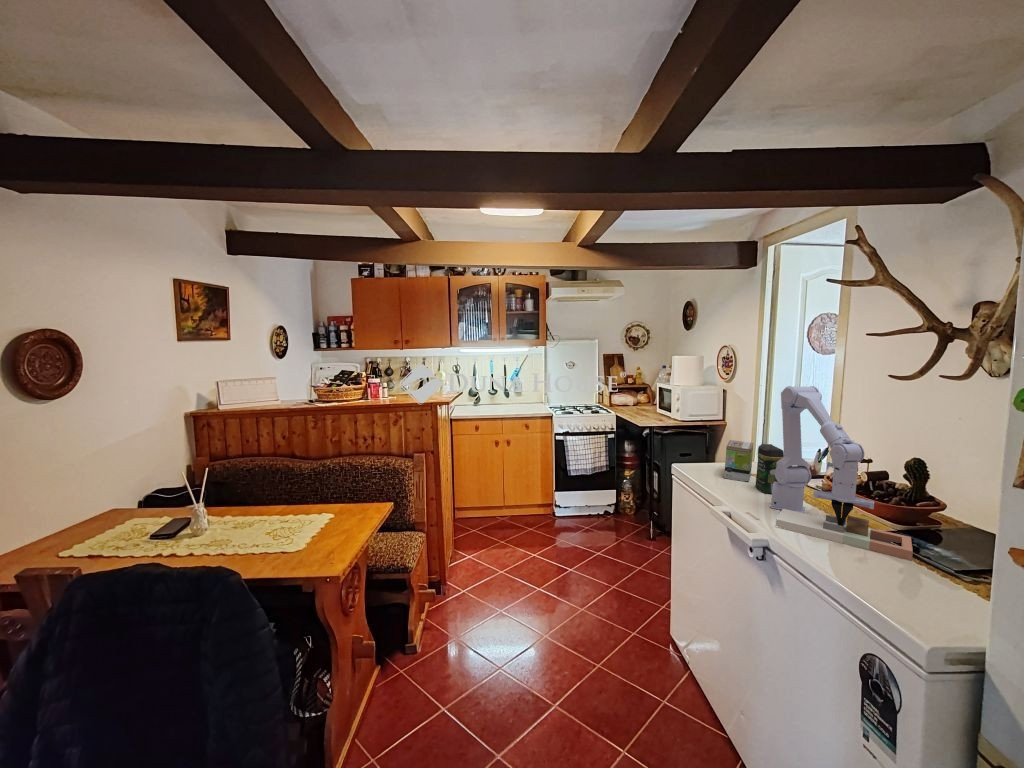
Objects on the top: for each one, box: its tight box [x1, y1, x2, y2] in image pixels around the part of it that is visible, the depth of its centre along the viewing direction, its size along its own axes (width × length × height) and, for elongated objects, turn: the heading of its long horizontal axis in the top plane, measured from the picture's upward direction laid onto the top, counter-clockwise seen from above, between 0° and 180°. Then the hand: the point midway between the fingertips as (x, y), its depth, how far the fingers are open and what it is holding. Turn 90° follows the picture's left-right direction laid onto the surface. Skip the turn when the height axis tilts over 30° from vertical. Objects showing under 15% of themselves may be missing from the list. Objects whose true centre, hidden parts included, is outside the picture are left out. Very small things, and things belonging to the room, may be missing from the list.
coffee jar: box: [755, 443, 784, 495], centre depth 171 cm, size 10×8×19 cm
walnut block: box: [846, 515, 870, 537], centre depth 128 cm, size 5×5×4 cm
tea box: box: [723, 439, 754, 482], centre depth 190 cm, size 15×10×15 cm
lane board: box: [775, 509, 914, 561], centre depth 131 cm, size 32×12×4 cm, turn 49°
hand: (840, 525), depth 131 cm, fingers closed
